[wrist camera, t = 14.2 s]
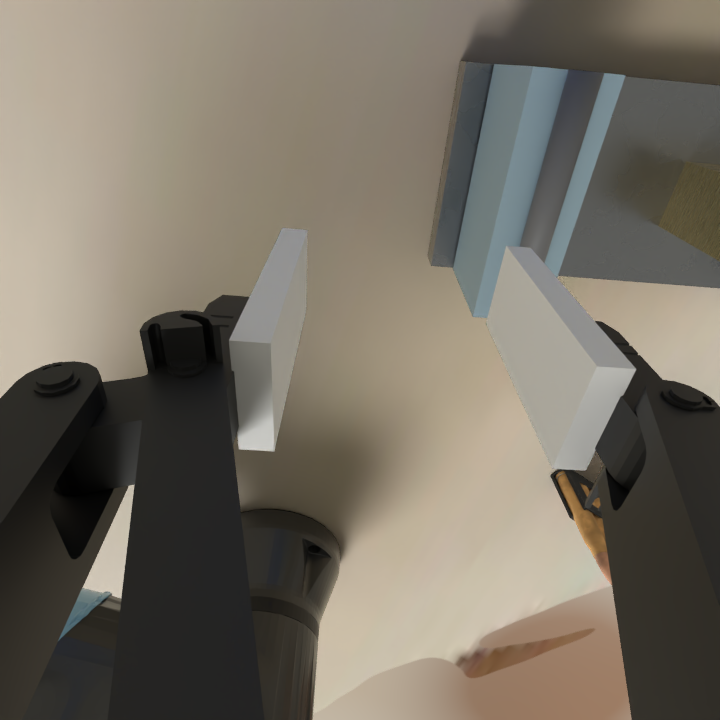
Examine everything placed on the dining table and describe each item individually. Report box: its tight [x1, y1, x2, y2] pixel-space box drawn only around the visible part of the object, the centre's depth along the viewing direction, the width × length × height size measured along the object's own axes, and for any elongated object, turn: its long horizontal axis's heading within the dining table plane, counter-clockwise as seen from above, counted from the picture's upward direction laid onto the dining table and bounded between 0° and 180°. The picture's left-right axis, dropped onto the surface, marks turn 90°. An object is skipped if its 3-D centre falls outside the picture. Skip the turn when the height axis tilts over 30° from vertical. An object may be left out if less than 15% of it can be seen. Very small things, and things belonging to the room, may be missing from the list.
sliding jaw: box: [453, 64, 625, 318], centre depth 25 cm, size 4×12×8 cm, turn 176°
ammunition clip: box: [551, 469, 612, 585], centre depth 43 cm, size 11×2×12 cm, turn 54°
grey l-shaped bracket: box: [428, 61, 720, 288], centre depth 27 cm, size 26×12×9 cm, turn 86°
